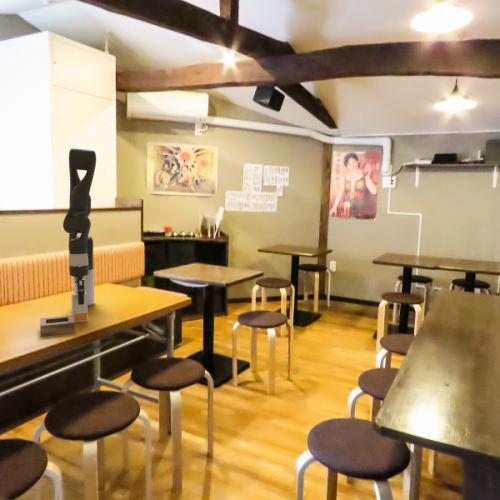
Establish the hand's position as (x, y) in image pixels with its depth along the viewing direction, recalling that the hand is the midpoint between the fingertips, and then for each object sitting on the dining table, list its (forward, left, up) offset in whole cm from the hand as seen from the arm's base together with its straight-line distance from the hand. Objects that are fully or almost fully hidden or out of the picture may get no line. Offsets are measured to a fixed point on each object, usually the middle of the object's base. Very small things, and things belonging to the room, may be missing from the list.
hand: (80, 302), depth 183 cm
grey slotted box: (+10, -9, -8) cm, 16 cm away
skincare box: (0, 0, -8) cm, 8 cm away
